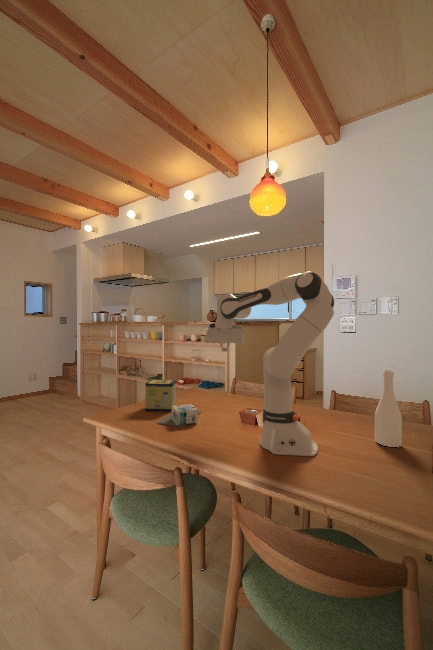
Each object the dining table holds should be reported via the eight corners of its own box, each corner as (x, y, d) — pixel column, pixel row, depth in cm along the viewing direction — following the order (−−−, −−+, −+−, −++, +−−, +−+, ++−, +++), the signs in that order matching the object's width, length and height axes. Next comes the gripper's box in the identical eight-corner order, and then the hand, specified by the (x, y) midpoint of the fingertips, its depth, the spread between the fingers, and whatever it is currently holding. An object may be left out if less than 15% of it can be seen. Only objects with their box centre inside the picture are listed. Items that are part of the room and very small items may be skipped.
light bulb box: (198, 409, 143) (176, 411, 139) (198, 423, 143) (176, 425, 139) (191, 403, 153) (171, 405, 149) (191, 416, 153) (170, 418, 149)
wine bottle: (385, 438, 127) (386, 368, 127) (407, 446, 118) (407, 372, 118) (369, 441, 124) (370, 369, 123) (389, 450, 115) (390, 373, 115)
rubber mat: (201, 412, 162) (201, 411, 162) (183, 426, 139) (183, 425, 139) (177, 409, 166) (177, 408, 166) (157, 423, 143) (157, 422, 143)
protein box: (149, 406, 173) (149, 379, 173) (176, 406, 173) (176, 379, 173) (144, 411, 163) (144, 383, 163) (172, 411, 162) (172, 383, 162)
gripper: (245, 325, 154) (245, 351, 154) (208, 324, 160) (208, 350, 160) (243, 325, 148) (243, 352, 148) (204, 324, 154) (204, 351, 154)
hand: (224, 351), depth 154 cm, fingers closed
